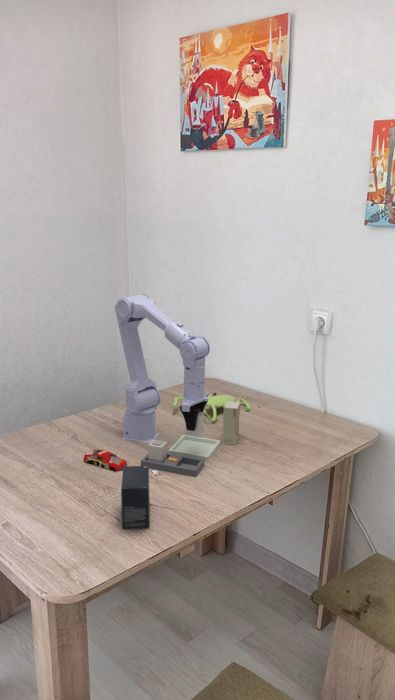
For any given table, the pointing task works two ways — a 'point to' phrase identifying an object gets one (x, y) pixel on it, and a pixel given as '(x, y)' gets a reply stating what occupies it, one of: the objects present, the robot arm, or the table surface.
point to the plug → (197, 426)
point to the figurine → (216, 403)
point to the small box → (135, 497)
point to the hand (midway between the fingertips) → (193, 427)
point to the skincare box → (231, 423)
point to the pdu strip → (176, 464)
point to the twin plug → (157, 451)
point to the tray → (195, 447)
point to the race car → (105, 460)
